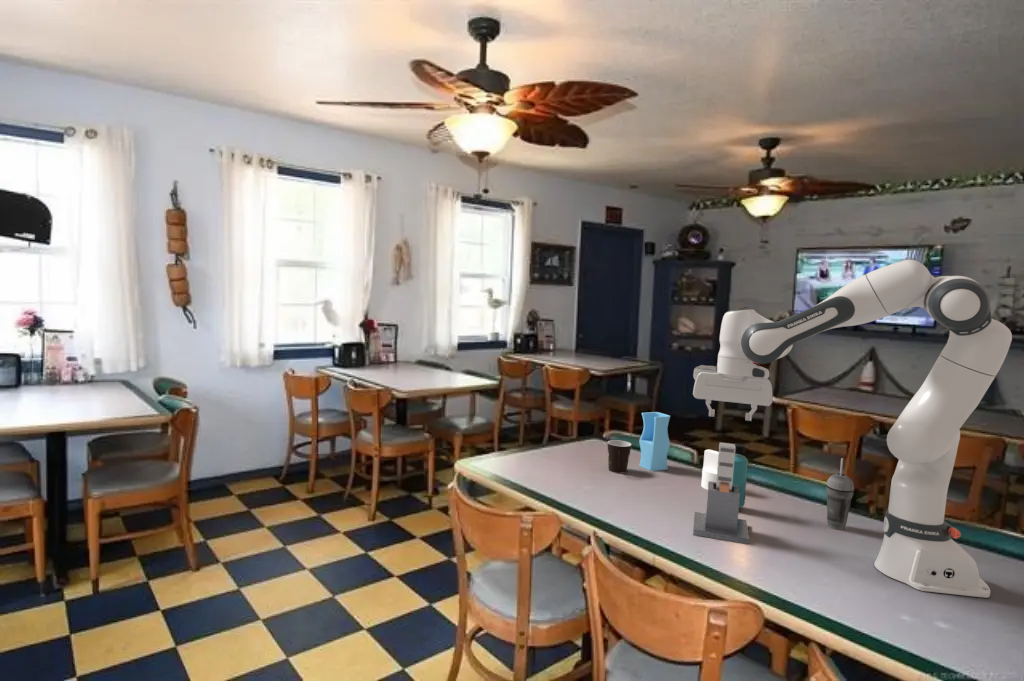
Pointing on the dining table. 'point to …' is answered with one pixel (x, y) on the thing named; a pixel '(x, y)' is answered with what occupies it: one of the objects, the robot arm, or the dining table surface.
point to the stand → (721, 515)
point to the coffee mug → (618, 455)
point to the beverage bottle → (740, 472)
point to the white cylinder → (709, 467)
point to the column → (725, 465)
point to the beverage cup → (838, 499)
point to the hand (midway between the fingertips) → (729, 418)
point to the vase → (654, 441)
